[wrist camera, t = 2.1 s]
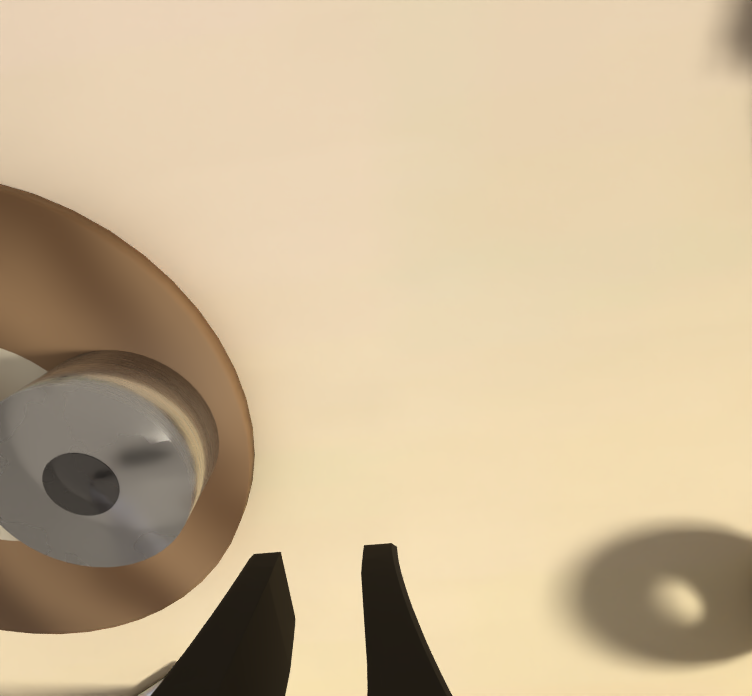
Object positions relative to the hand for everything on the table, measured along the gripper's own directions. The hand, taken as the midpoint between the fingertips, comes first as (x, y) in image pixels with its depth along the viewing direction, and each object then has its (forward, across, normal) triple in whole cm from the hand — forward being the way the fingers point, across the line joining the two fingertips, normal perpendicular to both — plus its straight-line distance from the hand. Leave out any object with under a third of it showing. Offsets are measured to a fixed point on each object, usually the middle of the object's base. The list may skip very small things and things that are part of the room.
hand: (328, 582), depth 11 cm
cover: (+8, +8, 0) cm, 11 cm away
